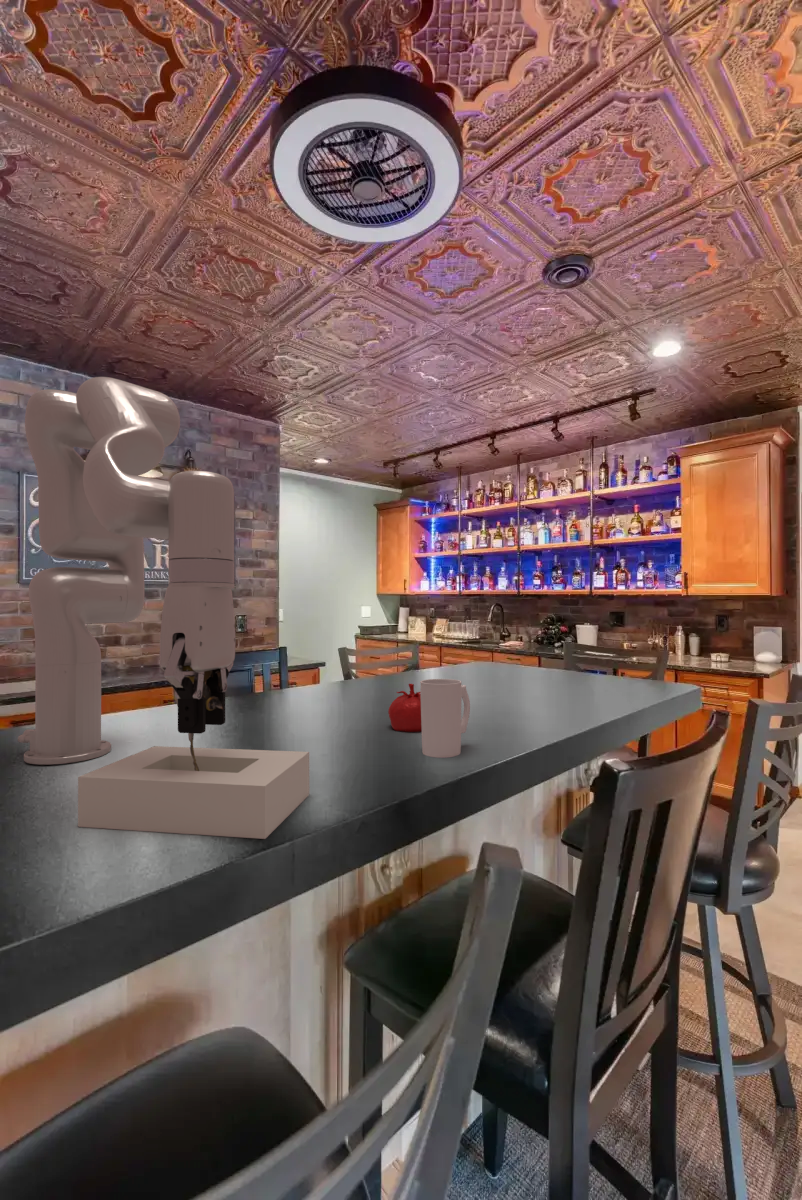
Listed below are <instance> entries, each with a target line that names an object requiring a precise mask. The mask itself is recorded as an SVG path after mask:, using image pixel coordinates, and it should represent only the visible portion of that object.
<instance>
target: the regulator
mask: <svg viewBox="0 0 802 1200" xmlns="http://www.w3.org/2000/svg"><path fill="white" fill-rule="evenodd" d="M186 671H194V670H193V669H192V667H190V666H186ZM210 676H211V677H213V670H209V671H204V679H203V690H202V697H201V698H205V705H206V709H207V710H214V709H215V708H219V709H222V710H223V712H224V709H223V707H222V704H223V701H219V699H218V697H215V696H213V697H211V691H210V687H208V686H207V685H206V680H207V679H208V678H209V677H210ZM189 678H190V679H191V681H192V683H193V684H194V677H189ZM173 699H174V701H175V702H176V703H175V704H176V705H177V707H178V699H176V698H175V692H174V694H173ZM194 734H195V733H187V735H188V741H189V742H190V745H189V746H190V752H191V755H192V757H193V760H194V761H193V764H194V766H195V768H194V769H195V771H199V768H198V766H197V763H196V759H195V755H194V749H193V748H194Z"/></svg>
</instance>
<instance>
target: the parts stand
mask: <svg viewBox="0 0 802 1200" xmlns="http://www.w3.org/2000/svg"><path fill="white" fill-rule="evenodd" d="M193 749H194V755H195V759H196V763H197V766H198V768H199V771H195V769H194V768H195V766H194V764H193V761H194V760H193V757H192V755H191V752H190V747H188V746H187V747H185V746H164V745H163V746H160V745H158V746H157V745H154V746H151V747H149V748H147V749H143V750H142V751H139V752H136V753H133V754H132V755H129V756H126V757H124V758H122V759H119V760H116V761H114V762H112V763H109V764H107V765H105V766H102V767H100V768H97V769H95V770H91V771H90V772H88V773H85V774H82V775H79V776H78V777H77V818H78V819H77V827H79V828H91V829H92V828H93V829H107V830H108V829H109V830H120V831H121V830H123V831H124V830H125V831H139V832H150V833H151V832H152V833H169V834H184V835H196V836H197V835H198V836H214V837H229V838H245V839H246V838H247V839H261V840H266V839H267V838H268V837H269V836H270V835H271V834H272V833H273V832H274V831H275V830H276V829H277V828H278V827H279V826H280V825H281V824H282V823H283V822H284V821H285V820H286V819H287V818H288V817H289V816H290V815H291V814H292V813H293V812H294V811H295V810H296V809H297V808H298V807H299V806H300V805H301V804H302V803H303V802H304V801H305V800H306V799H307V798H308V797H309V796H310V751H295V750H293V751H291V750H290V751H289V750H270V749H269V750H267V749H264V750H263V749H244V748H243V749H239V748H238V749H237V748H233V749H232V748H214V747H213V748H212V747H208V748H207V747H193Z"/></svg>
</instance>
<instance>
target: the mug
mask: <svg viewBox="0 0 802 1200" xmlns="http://www.w3.org/2000/svg"><path fill="white" fill-rule="evenodd" d="M419 682H420V691H419V692H420V694H421V727H422V732H421V748H422V749H421V751H422V754H423V755H424V756H427V757H430V758H439V759H440V758H442V759H444V758H452V757H456V756H459V755H460V754H461V753H462V752H461V751H462V734H465V733H466V732H467V728H468V724H469V720H470V719H469V718H470V713H471V703H470V702H471V701H470V697H469V694H468V691H467V685H466V684H462V681H461V680H459V679H454V678H429V679H424V680H423V679H422V680H420V681H419ZM462 701H463V713H462Z"/></svg>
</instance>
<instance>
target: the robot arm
mask: <svg viewBox="0 0 802 1200" xmlns="http://www.w3.org/2000/svg"><path fill="white" fill-rule="evenodd" d="M180 427H181V417H180V412H179V409H178V407H177V405H176V403H175V402H174V401H173V400H172V399H171V397H169V396H168V395H166V394H164V393H163V392H160V391H157V390H155V389H151V388H147V387H144V386H141V385H138V384H134V383H131V382H128V381H126V380H121V379H118V378H114V377H108V376H95V377H90V378H89V379H87V380H85V381H83V383H81V384H80V385H79V387H78V389H77V391H76V392H71V391H68V390H61V389H50V388H48V389H40V390H37V391H36V392H34V393H33V394H31V396H30V397H29V399H28V400H27V404H26V407H25V415H24V428H25V429H24V430H25V431H24V432H25V437H26V441H27V446H28V448H29V452H30V454H31V457H32V460H33V462H34V466H35V471H36V473H37V474H36V475H37V481H38V482H37V483H38V484H37V492H38V493H37V494H38V495H37V497H38V500H37V501H38V503H37V504H38V534H39V535H38V536H39V537H38V538H39V544H40V547H41V549H42V551H43V552H44V553H45V554H46V555H48V556H49V557H52V558H56V559H62V560H69V561H70V560H72V561H73V560H74V561H86V562H87V561H88V562H100V563H101V562H105V563H106V564H107V565H108V569H105V568H102V569H101V568H92V567H89V568H88V567H72V566H60V567H59V566H56V567H51V568H50V567H49V568H45V569H42V570H40V571H39V572H37V573H36V574H34V576H32V578H31V580H30V582H29V585H28V599H29V606H30V611H31V616H32V622H33V631H34V642H35V643H34V644H35V645H34V651H35V652H34V653H35V654H34V655H35V656H34V657H35V658H34V659H35V660H34V661H35V662H34V664H35V682H34V683H35V686H34V687H35V694H34V695H35V704H34V705H35V707H34V708H35V713H34V714H35V716H34V717H35V718H34V719H35V720H34V721H35V725H34V729H33V728H32V729H29V728H28V729H25V730H24V731H23V733H22V734H19V736H17V741H18V743H23V744H28V743H29V749H28V750H27V751H25V752H24V754H23V761H24V763H27V764H31V765H38V766H39V765H40V766H45V765H46V766H47V765H48V766H51V765H53V766H54V765H63V764H73V763H80V762H84V761H89V760H93V759H96V758H99V757H103V756H105V755H107V754H108V753H110V752H111V751H112V743H111V742H109V741H108V740H107V741H106V740H104V739H102V651H101V647H100V644H99V642H98V641H97V639H96V637H94V635H93V634H92V633H91V632H90V630H89V629H88V628H87V627H86V625H90V624H113V623H114V624H117V623H128V622H133V621H134V620H136V619H138V618H139V616H140V615H141V614H142V611H143V609H144V604H145V552H144V551H145V548H144V547H145V545H144V539H145V538H147V539H156V540H157V539H158V540H164V541H168V546H167V547H168V551H167V555H168V558H167V559H168V560H167V561H168V567H167V569H168V574H167V576H168V586H167V587H166V589H165V595H164V599H163V605H162V611H161V612H162V613H161V619H160V620H161V622H160V635H159V637H160V638H159V667H160V670H161V671H163V676H164V679H165V680H166V681H167V682H168V683H170V685H171V686H172V688H173V690H174V693H175V698H176V699H178V706H177V732H178V733H180V734H188V733H194V734H202V733H205V732H206V727H207V726H209V725H213V726H222V725H225V724H226V692H227V690H228V682H227V681H228V678H229V676H230V675H229V673H230V671H231V670H232V668H233V666H234V661H235V658H236V621H235V610H234V609H235V606H234V601H233V592H232V589H235V490H234V485H233V483H232V481H231V479H230V478H228V477H227V476H226V475H223V474H221V473H220V474H219V473H216V472H213V471H206V470H185V471H180V472H177V473H175V474H174V475H172V477H171V478H170V479H169V480H164V479H158V478H152V477H147V476H141V475H144V474H147V473H148V472H150V471H152V470H154V469H155V468H156V467H157V466H158V465H159V464H160V463H161V461H162V459H163V457H164V455H165V448H167V447H169V446H171V444H173V442H174V441H175V440H176V439H177V436H178V435H179V431H180ZM75 448H78V449H84V450H88V451H89V452H88V453H87V456H86V458H85V460H84V459H83V457H82V456H81V455H80V454H79V453H78V452H77V451H76V450H75ZM186 666H190V667H192V669H193V670H194V671H189V670H186ZM209 670H213V677H211V676H210V677H209V678H208V679H207V680H206V685H207V686H208V687H210V691H211V697H213V696H215V697H218V699H219V701H223V704H222V707H223V709H224V712H223V710H222V709H219V708H215V709H214V710H207V709H206V705H205V698H201V697H202V690H203V679H204V671H209ZM189 677H194V684H193V683H192V681H191V679H190V678H189Z"/></svg>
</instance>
